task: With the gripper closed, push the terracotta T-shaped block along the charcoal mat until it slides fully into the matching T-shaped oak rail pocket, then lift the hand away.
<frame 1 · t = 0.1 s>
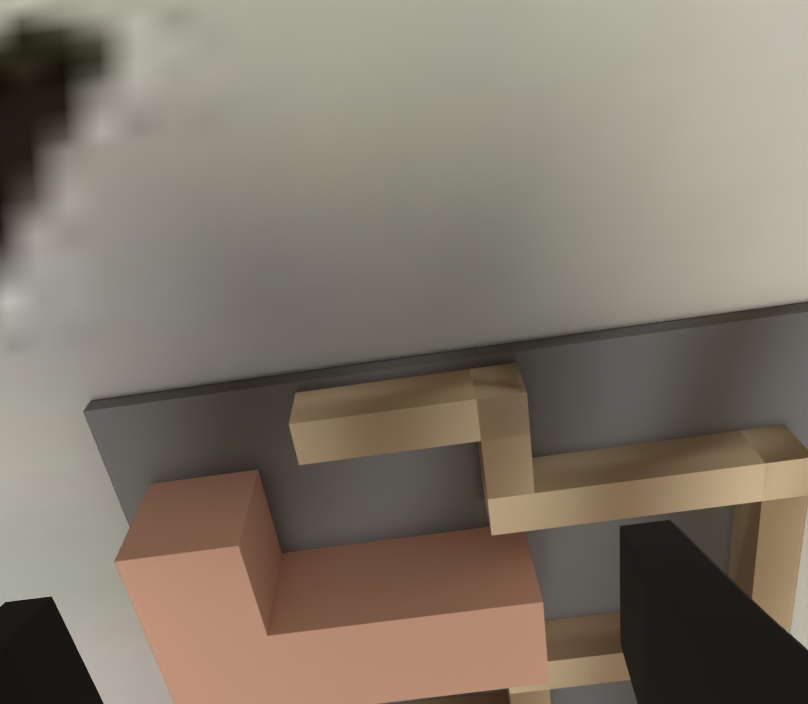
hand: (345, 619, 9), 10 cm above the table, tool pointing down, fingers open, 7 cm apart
t frame: (490, 554, 22), on the table
t block: (325, 587, 22), resting on t frame
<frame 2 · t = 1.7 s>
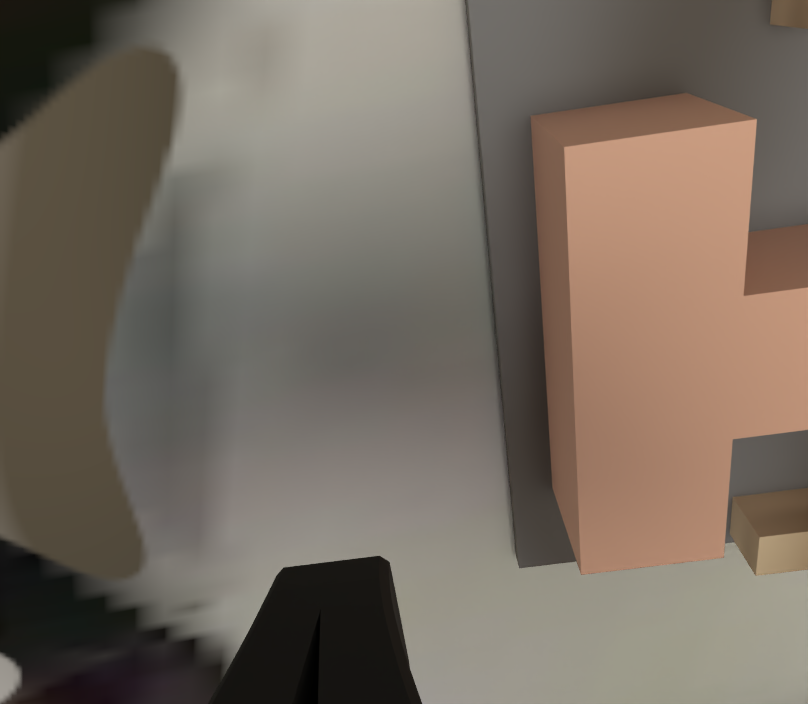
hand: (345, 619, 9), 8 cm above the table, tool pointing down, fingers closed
t block: (725, 300, 16), resting on t frame
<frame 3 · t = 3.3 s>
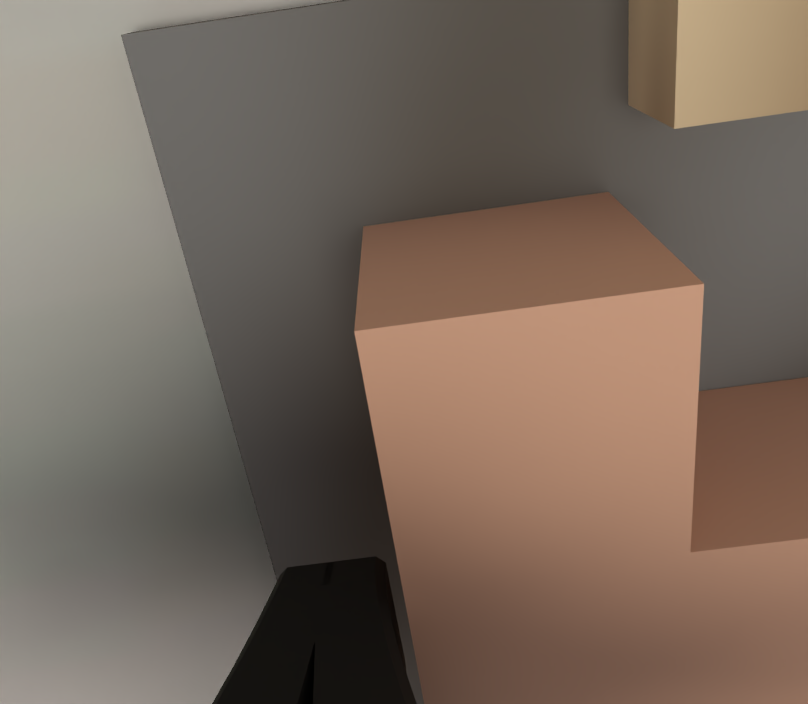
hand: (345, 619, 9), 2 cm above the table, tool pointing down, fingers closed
t block: (679, 480, 11), point 1 cm above the table, touching gripper, t frame
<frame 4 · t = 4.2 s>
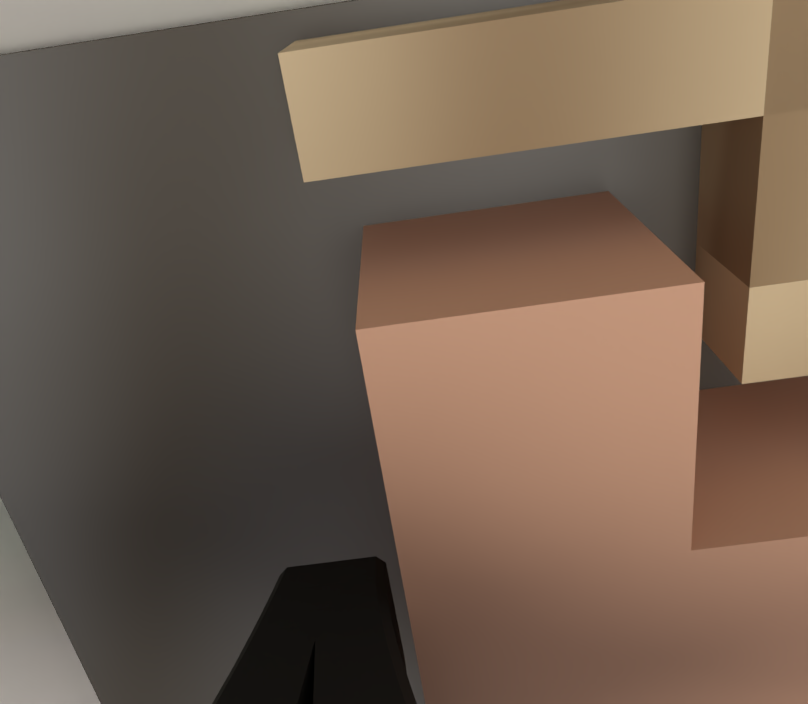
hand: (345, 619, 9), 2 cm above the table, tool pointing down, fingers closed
t frame: (674, 459, 11), on the table
t block: (679, 478, 11), resting on t frame, touching gripper
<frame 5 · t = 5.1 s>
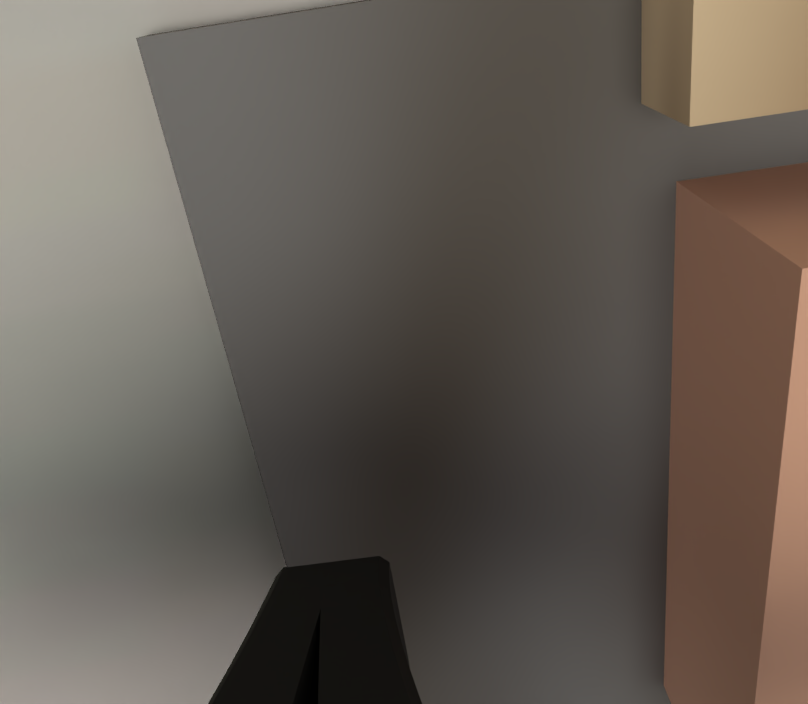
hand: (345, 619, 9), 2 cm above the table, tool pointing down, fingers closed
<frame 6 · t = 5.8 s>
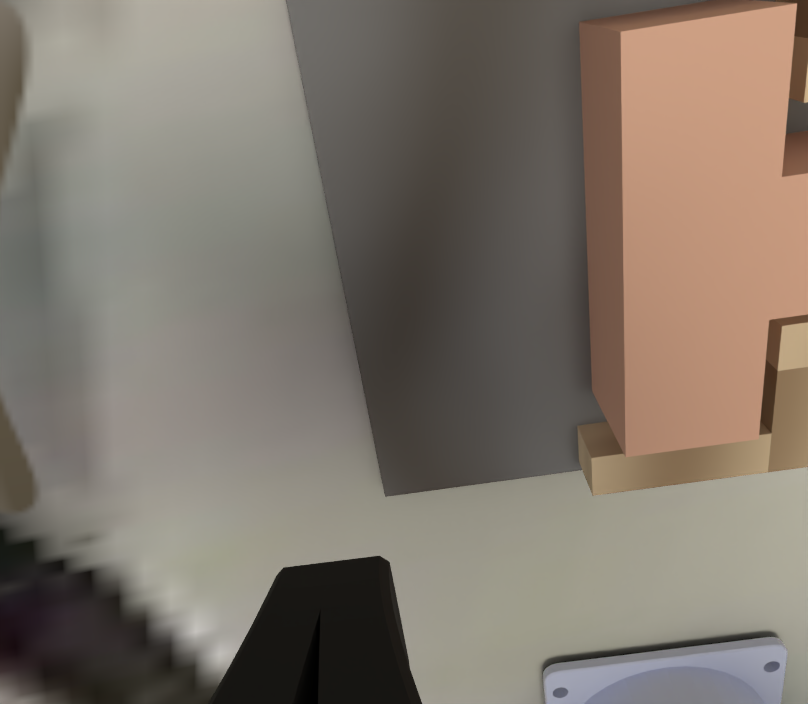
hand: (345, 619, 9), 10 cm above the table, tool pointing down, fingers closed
t frame: (750, 197, 18), on the table
t block: (757, 202, 17), resting on t frame
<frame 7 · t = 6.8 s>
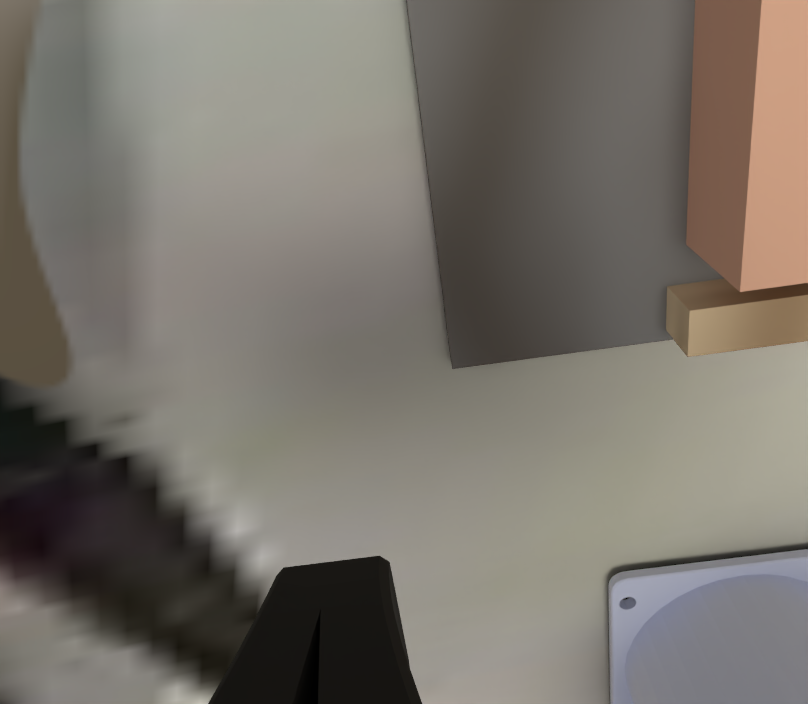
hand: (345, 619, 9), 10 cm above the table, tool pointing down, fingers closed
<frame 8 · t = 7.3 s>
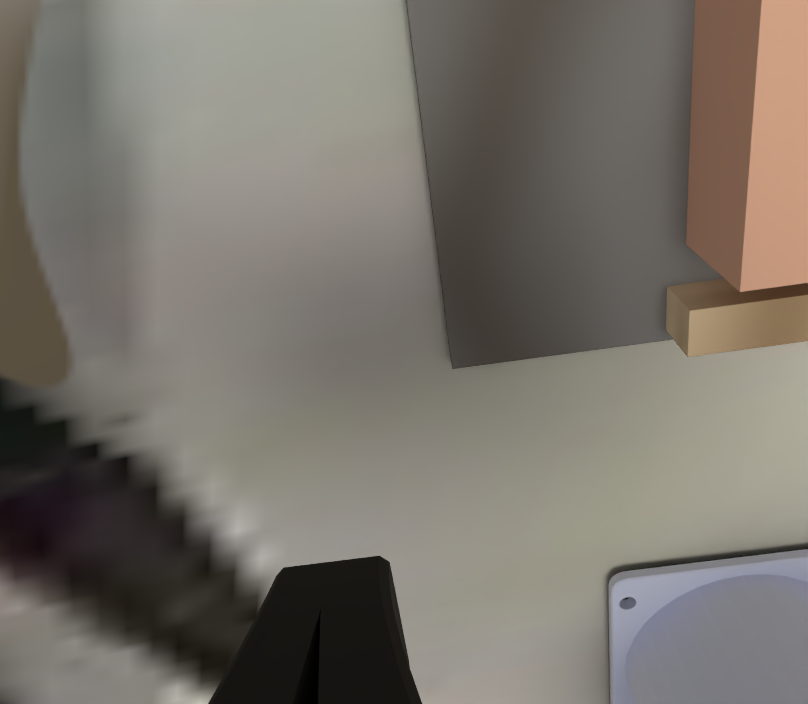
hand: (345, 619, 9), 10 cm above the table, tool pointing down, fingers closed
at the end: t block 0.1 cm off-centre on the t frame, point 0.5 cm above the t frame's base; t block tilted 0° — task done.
